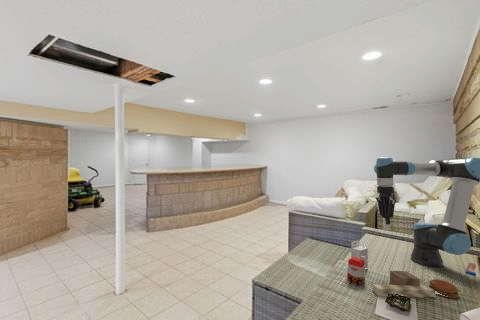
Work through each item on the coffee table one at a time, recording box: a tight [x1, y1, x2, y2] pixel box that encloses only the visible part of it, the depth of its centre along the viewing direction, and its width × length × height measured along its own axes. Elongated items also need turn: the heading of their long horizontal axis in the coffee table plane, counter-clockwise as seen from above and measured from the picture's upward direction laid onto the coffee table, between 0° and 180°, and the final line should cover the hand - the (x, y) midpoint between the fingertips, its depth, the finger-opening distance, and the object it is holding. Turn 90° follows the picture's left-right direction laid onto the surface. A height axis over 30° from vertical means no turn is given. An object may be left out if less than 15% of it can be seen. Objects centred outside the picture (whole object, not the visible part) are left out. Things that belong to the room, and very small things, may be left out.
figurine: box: [346, 256, 367, 287], centre depth 107 cm, size 8×7×12 cm
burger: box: [428, 278, 459, 299], centre depth 99 cm, size 10×9×5 cm
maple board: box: [372, 283, 436, 298], centre depth 97 cm, size 24×4×3 cm, turn 89°
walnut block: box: [389, 270, 421, 286], centre depth 103 cm, size 8×8×6 cm
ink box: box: [350, 239, 369, 268], centre depth 122 cm, size 8×5×15 cm, turn 123°
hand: (386, 229), depth 119 cm, fingers closed
